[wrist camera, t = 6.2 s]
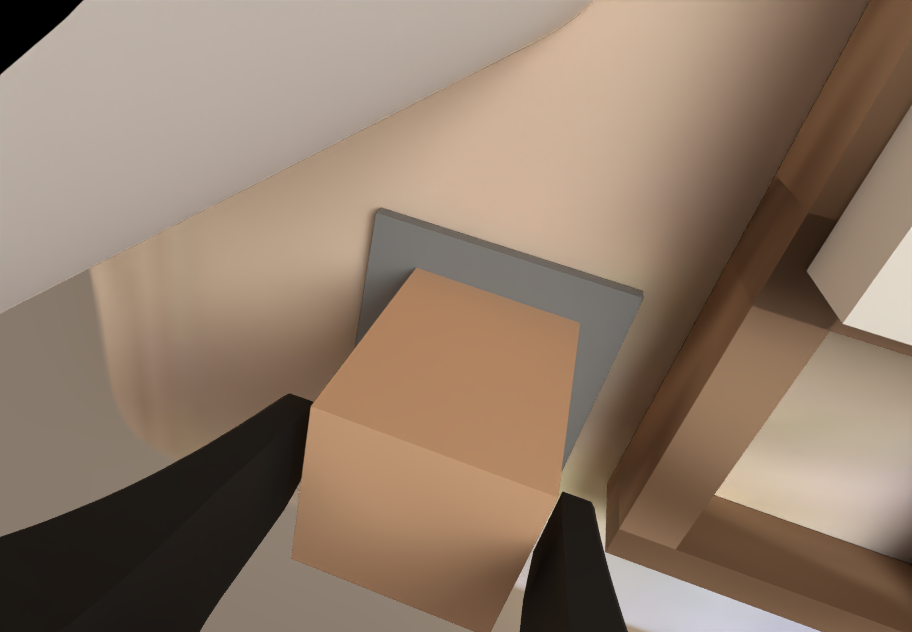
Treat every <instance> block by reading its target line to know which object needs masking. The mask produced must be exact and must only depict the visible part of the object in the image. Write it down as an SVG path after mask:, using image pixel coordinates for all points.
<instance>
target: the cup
mask: <svg viewBox="0 0 912 632" xmlns="http://www.w3.org/2000/svg"><path fill="white" fill-rule="evenodd" d="M594 1H595V0H0V314H1V313H3V312H5V311H7V310H9V309H10V308H13V307H15V306H17V305H19V304H20V303H22V302H24V301H26V300H28V299H30V298H32V297H34V296H36V295H38V294H40V293H42V292H44V291H46V290H48V289H50V288H52V287H54V286H56V285H58V284H60V283H62V282H64V281H66V280H68V279H70V278H72V277H74V276H75V275H78V274H80V273H81V272H83V271H85V270H87V269H89V268H91V267H93V266H95V265H97V264H99V263H101V262H103V261H105V260H107V259H109V258H111V257H113V256H115V255H117V254H119V253H121V252H123V251H125V250H127V249H129V248H131V247H133V246H135V245H137V244H139V243H141V242H143V241H145V240H147V239H149V238H151V237H152V236H154V235H156V234H158V233H160V232H162V231H164V230H166V229H168V228H170V227H172V226H174V225H176V224H178V223H180V222H182V221H184V220H186V219H188V218H190V217H192V216H194V215H196V214H198V213H200V212H202V211H204V210H206V209H208V208H210V207H212V206H214V205H216V204H217V203H219V202H221V201H223V200H225V199H227V198H229V197H231V196H233V195H235V194H237V193H239V192H241V191H243V190H245V189H247V188H249V187H251V186H253V185H255V184H257V183H259V182H261V181H263V180H265V179H267V178H269V177H271V176H273V175H275V174H277V173H279V172H281V171H282V170H284V169H286V168H288V167H290V166H292V165H294V164H296V163H298V162H300V161H302V160H304V159H306V158H308V157H310V156H312V155H314V154H316V153H318V152H320V151H322V150H324V149H326V148H328V147H330V146H332V145H334V144H336V143H338V142H340V141H342V140H344V139H346V138H348V137H349V136H351V135H353V134H355V133H357V132H359V131H361V130H363V129H365V128H367V127H369V126H371V125H373V124H375V123H377V122H379V121H381V120H383V119H385V118H387V117H389V116H391V115H393V114H395V113H397V112H399V111H401V110H403V109H405V108H407V107H409V106H411V105H413V104H414V103H416V102H418V101H420V100H422V99H424V98H426V97H428V96H430V95H432V94H434V93H436V92H438V91H440V90H442V89H444V88H446V87H448V86H450V85H452V84H454V83H456V82H458V81H460V80H462V79H464V78H466V77H468V76H470V75H472V74H474V73H476V72H478V71H479V70H481V69H483V68H485V67H487V66H489V65H491V64H493V63H495V62H497V61H499V60H501V59H503V58H505V57H507V56H509V55H511V54H513V53H515V52H517V51H519V50H521V49H523V48H525V47H527V46H529V45H531V44H533V43H535V42H537V41H539V40H541V39H543V38H544V37H546V36H548V35H550V34H551V33H553V32H555V31H556V30H558V29H560V28H561V27H563V26H564V25H566V24H567V23H568V22H570V21H571V20H573V19H574V18H575V17H577V16H578V15H579V14H581V13H582V12H583V11H584V10H585V9H586V8H587V7H589V6H590V5H591V4H592V3H593V2H594Z"/></svg>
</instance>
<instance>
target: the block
mask: <svg viewBox="0 0 912 632" xmlns="http://www.w3.org/2000/svg"><path fill="white" fill-rule="evenodd" d="M579 328H580V323H578V322H576V321H573V320H570V319H567V318H564V317H561V316H558V315H555V314H552V313H549V312H546V311H543V310H540V309H537V308H534V307H531V306H528V305H525V304H522V303H519V302H516V301H513V300H511V299H508V298H505V297H502V296H499V295H496V294H493V293H490V292H487V291H484V290H481V289H478V288H475V287H472V286H469V285H466V284H463V283H460V282H457V281H454V280H451V279H449V278H446V277H443V276H440V275H437V274H434V273H431V272H428V271H425V270H422V269H419V268H416V269H415V270H414V271H413V273H412V274H411V275H410V276H409V278H408V279H407V280H406V282H405V283H404V284H403V286H402V287H401V288H400V290H399V291H398V292H397V294H396V295H395V296H394V298H393V299H392V300H391V301H390V303H389V304H388V305H387V307H386V308H385V309H384V311H383V312H382V313H381V315H380V316H379V317H378V319H377V320H376V321H375V323H374V324H373V325H372V326H371V328H370V329H369V330H368V332H367V333H366V334H365V336H364V337H363V338H362V340H361V341H360V342H359V344H358V345H357V346H356V348H355V349H354V350H353V352H352V353H351V354H350V355H349V357H348V358H347V359H346V361H345V362H344V363H343V365H342V366H341V367H340V369H339V370H338V371H337V373H336V374H335V375H334V377H333V378H332V379H331V380H330V382H329V383H328V384H327V386H326V387H325V388H324V390H323V391H322V392H321V394H320V395H319V396H318V398H317V399H316V400H315V402H314V403H313V404H312V405H311V409H310V417H309V425H308V432H307V440H306V448H305V456H304V464H303V471H302V479H301V487H300V495H299V502H298V510H297V519H296V526H295V534H294V541H293V549H292V557H291V558H292V559H293V560H296V561H299V562H301V563H303V564H306V565H309V566H311V567H313V568H316V569H318V570H321V571H323V572H326V573H328V574H331V575H334V576H336V577H339V578H341V579H344V580H346V581H349V582H351V583H354V584H356V585H359V586H361V587H364V588H366V589H369V590H371V591H374V592H376V593H379V594H381V595H384V596H386V597H389V598H392V599H394V600H396V601H399V602H401V603H404V604H406V605H409V606H411V607H414V608H416V609H419V610H421V611H424V612H427V613H429V614H431V615H434V616H437V617H439V618H441V619H444V620H446V621H449V622H452V623H454V624H457V625H459V626H461V627H464V628H466V629H469V630H472V631H474V632H491V630H492V628H493V626H494V624H495V622H496V620H497V618H498V616H499V614H500V612H501V610H502V608H503V606H504V604H505V602H506V600H507V598H508V596H509V594H510V592H511V590H512V588H513V586H514V585H515V583H516V581H517V579H518V577H519V575H520V573H521V571H522V569H523V567H524V565H525V563H526V561H527V559H528V557H529V555H530V553H531V551H532V549H533V547H534V545H535V543H536V541H537V539H538V537H539V535H540V533H541V531H542V529H543V527H544V525H545V523H546V521H547V519H548V517H549V515H550V513H551V511H552V509H553V507H554V505H555V503H556V501H557V499H558V495H559V487H560V479H561V471H562V463H563V455H564V447H565V439H566V431H567V423H568V415H569V407H570V399H571V391H572V383H573V375H574V368H575V360H576V352H577V344H578V336H579Z"/></svg>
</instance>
